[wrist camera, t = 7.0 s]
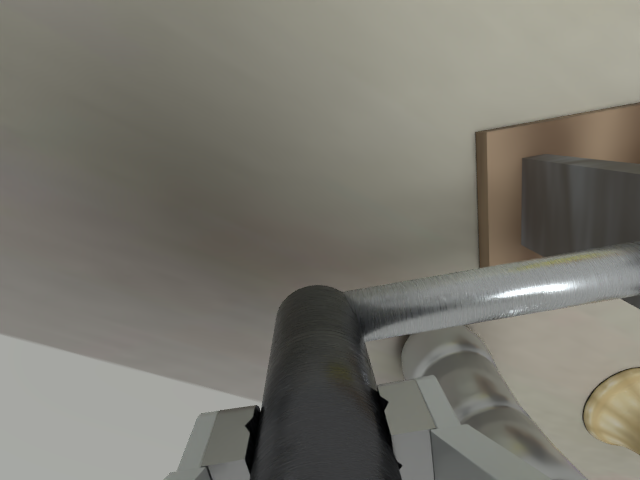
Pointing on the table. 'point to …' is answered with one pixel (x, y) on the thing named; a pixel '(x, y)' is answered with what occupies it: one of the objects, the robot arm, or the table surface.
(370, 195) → the table surface
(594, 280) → the shaft
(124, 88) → the table surface
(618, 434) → the hand bell
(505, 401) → the plastic bottle
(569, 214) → the shaft frame
